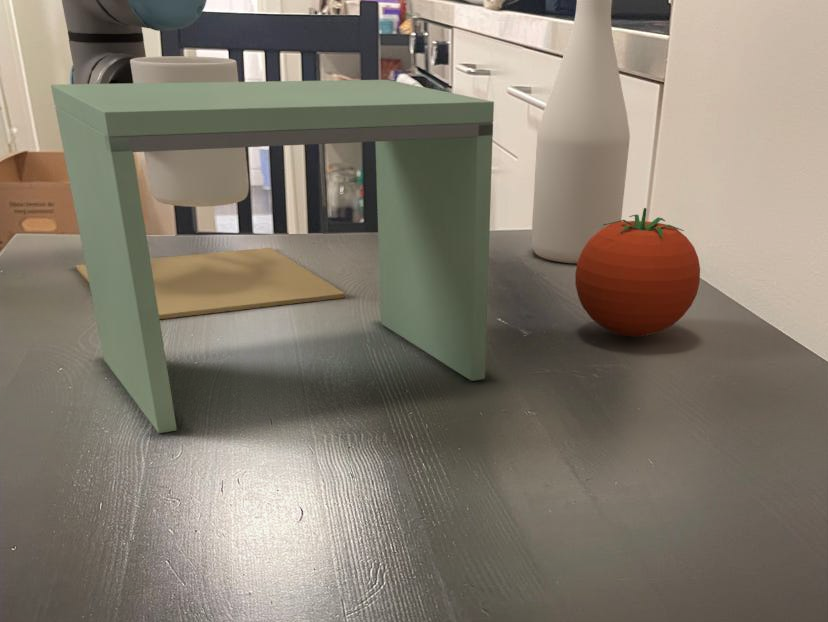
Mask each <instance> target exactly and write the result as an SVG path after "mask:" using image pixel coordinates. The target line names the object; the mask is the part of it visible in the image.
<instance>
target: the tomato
mask: <svg viewBox="0 0 828 622" xmlns="http://www.w3.org/2000/svg"><path fill="white" fill-rule="evenodd" d="M632 217H634V220H626V219H621V220H620V221H616V222H612V223H608V224H610V225H608V226H606V227H604V228H603V229H601V230H600V231H599V232H597V233H596V234H595V235H594V236H593V237H592V238H590V239H589V241H588V242H587V244H586V245H585V247H584V248H583V250H582V252H581V255H580V257H579V260H578V262H577V263H576V267H575V273H574V278H575V279H574V283H575V289H576V293H577V297H578V300H579V302H580V304H581V306H582V309H583V310H584V311H585V312H586V313H587V315H588V316H589V318H590V319H591V320H592V321H594V322H595V323H596V324H598V325H599V326H600V327H602V328H603V329H605V330H606V331H609V332H611V333H614V334H617V335H619V336H626V337H645V336H649V335H652V334H656V333H660V332H663V331H664V330H666V329H668V328H670V327H672V326H673V325H675V324H676V323H677V322H678V321H679V320H681V319H682V318H683V317H684V315H685V314H686V313H687V311H689V309H690V308H691V307H692V306H693V304H694V301H695V299H696V297H697V294H698V291H699V287H700V281H701V265H700V259H699V256H698V254H697V250H696V249H695V246H694V245H693V244H692V242H691V241H690V239H688V237H687V236H686V235H685V234H683V233H682V232H684V231H685V230H684V229H681V228H679V227H676V226H674V225H671V224H667V223H666V224H665V223H661V221H663V222H666V220H665V219H664V218H662V217H656V218H655V219H654V220H652V221H646V217H647V207H644V208H643V209H642V215H641V220H640V215H639V214H632V215H629V218H632ZM604 225H607V224H604ZM681 231H682V232H681Z"/></svg>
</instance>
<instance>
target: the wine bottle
mask: <svg viewBox="0 0 828 622" xmlns="http://www.w3.org/2000/svg"><path fill="white" fill-rule="evenodd" d="M612 5H613V0H576V5H575V15H574V19H573V24H572V28H571V32H570V35H569V38H568V41H567V44H566V47H565V50H564V52H563V56H562V59H561V61H560V65H559V67H558V70H557V73H556V75H555V79H554V81H553V84H552V88H551V90H550V93H549V96H548V99H547V101H546V104H545V107H544V110H543V113H542V115H541V119H540V123H539V126H538V129H537V134H536V149H535V150H536V151H535V167H534V168H535V169H534V170H535V171H534V185H533V186H534V187H533V188H534V189H533V203H532V204H533V205H532V220H531V221H532V222H531V239H530V242H531V248H532V251H533V252H534V254H536V256H538V257H540V258H542V259H545V260H548V261H551V262H558V263H565V264H577V262H578V260H579V257H580V255H581V252H582V250H583V248H584V247H585V245H586V244H587V242H588V241H589V239H590V238H592V237H593V236H594V235H595V234H596V233H597V232H599V231H600V230H601V229H603V228H604V227H606V226H608V225H610V224H608V223H612V222H616V221H620V220H622V217H623V207H624V197H625V187H626V178H627V171H628V169H627V168H628V159H629V150H630V141H631V139H630V138H631V136H630V134H631V133H630V127H629V120H628V119H629V118H628V113H627V108H626V103H625V98H624V92H623V87H622V82H621V77H620V71H619V65H618V59H617V54H616V48H615V43H614V38H613V30H612V27H613V26H612ZM604 224H607V225H604Z"/></svg>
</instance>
